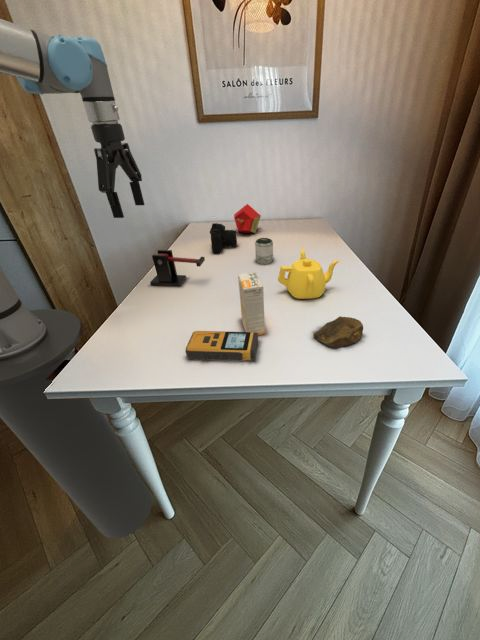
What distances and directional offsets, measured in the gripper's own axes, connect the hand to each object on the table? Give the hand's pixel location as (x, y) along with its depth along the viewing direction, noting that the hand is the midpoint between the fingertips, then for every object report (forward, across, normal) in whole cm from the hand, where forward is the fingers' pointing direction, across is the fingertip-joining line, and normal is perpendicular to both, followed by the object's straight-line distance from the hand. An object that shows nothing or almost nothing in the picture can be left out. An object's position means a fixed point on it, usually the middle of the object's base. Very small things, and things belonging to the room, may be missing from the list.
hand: (130, 211), depth 93 cm
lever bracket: (+21, -4, -9) cm, 23 cm away
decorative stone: (+21, -30, -62) cm, 71 cm away
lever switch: (+14, -4, -14) cm, 21 cm away
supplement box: (+21, -27, -40) cm, 53 cm away
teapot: (+21, -6, -54) cm, 58 cm away
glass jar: (+21, +15, -38) cm, 46 cm away
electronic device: (+21, -38, -35) cm, 56 cm away
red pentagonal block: (+21, +47, -27) cm, 58 cm away
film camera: (+21, +28, -20) cm, 41 cm away
